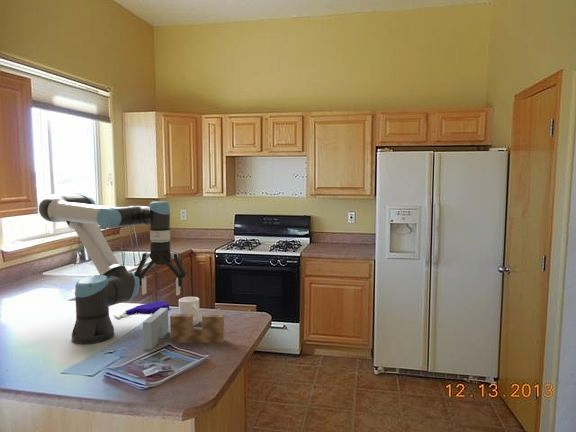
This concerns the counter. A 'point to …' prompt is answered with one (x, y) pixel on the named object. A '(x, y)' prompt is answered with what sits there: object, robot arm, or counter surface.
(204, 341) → the walnut board
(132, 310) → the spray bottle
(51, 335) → the counter surface
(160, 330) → the grey flat rectangular block
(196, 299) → the mug
